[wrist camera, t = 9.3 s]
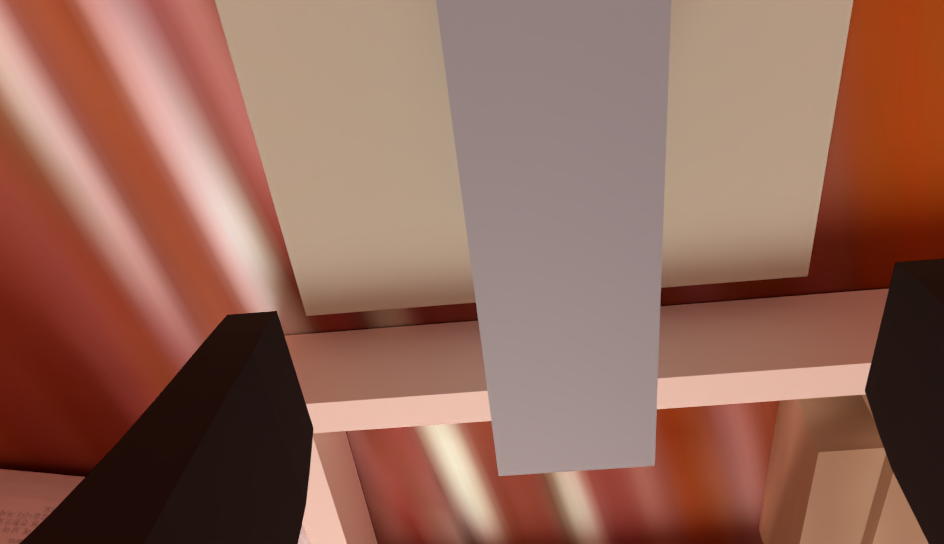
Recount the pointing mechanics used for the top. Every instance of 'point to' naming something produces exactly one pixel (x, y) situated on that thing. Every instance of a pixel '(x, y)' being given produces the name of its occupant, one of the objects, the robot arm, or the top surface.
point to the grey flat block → (563, 219)
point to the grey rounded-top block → (29, 500)
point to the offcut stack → (832, 478)
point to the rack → (466, 397)
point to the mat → (435, 161)
